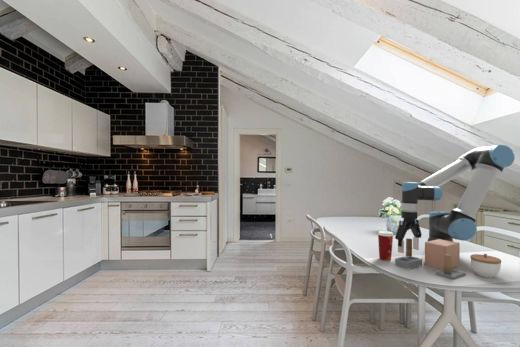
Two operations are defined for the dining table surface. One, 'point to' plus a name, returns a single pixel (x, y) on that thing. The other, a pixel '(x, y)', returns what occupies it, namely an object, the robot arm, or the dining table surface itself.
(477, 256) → the lidded jar
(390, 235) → the paper cup
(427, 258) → the block
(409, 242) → the pin
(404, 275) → the dining table surface
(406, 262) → the grey hollow block
